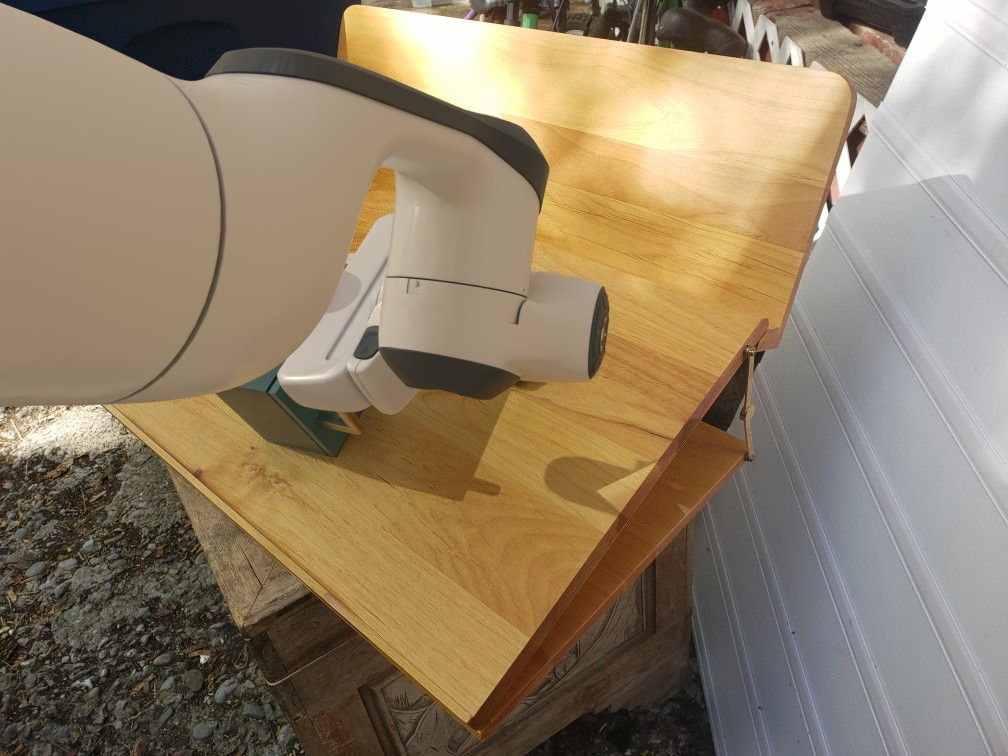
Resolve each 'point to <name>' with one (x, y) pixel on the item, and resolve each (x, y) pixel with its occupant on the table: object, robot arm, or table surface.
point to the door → (320, 421)
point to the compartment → (268, 413)
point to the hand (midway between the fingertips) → (299, 297)
